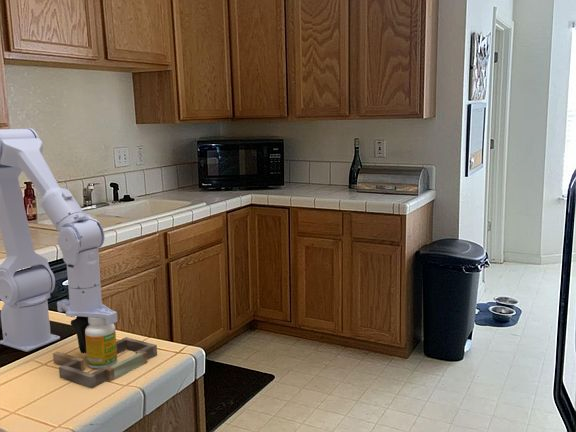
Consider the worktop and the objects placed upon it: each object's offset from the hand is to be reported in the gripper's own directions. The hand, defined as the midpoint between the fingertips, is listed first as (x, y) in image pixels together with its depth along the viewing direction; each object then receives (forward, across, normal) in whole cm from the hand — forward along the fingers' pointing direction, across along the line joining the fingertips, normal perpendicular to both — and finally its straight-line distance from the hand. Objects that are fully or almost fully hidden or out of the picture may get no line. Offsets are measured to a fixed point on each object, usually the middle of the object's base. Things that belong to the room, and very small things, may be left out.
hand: (89, 352), depth 107 cm
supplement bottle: (+2, +3, 0) cm, 4 cm away
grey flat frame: (+1, +3, 0) cm, 3 cm away
